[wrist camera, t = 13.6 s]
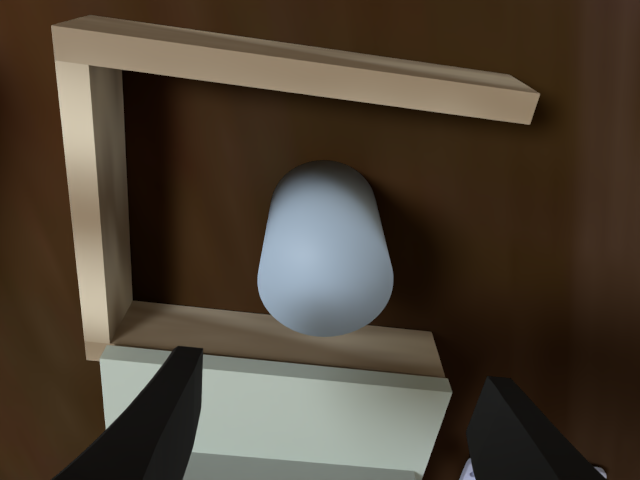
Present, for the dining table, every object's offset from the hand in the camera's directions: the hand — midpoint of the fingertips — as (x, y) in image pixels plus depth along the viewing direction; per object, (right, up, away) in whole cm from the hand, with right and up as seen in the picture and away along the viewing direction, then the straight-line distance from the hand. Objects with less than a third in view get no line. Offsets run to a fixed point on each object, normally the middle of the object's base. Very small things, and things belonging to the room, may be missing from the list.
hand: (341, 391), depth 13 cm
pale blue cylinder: (0, +5, +8) cm, 10 cm away
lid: (-3, -5, +10) cm, 12 cm away
